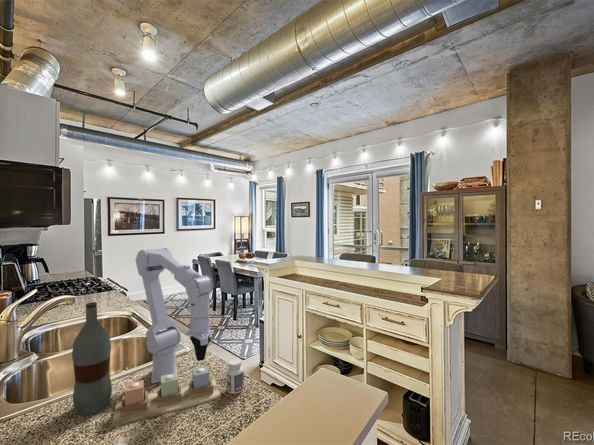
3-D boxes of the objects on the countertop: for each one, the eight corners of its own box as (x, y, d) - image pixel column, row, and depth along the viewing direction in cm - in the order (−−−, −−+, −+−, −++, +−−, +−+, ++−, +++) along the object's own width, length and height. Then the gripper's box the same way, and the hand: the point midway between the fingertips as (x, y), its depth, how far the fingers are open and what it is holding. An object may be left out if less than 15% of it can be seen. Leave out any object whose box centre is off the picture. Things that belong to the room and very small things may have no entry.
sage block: (161, 390, 88) (160, 375, 88) (176, 387, 89) (176, 371, 89) (161, 398, 84) (161, 382, 84) (177, 394, 86) (177, 378, 85)
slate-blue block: (192, 383, 91) (192, 368, 91) (207, 379, 93) (207, 365, 93) (194, 390, 88) (194, 375, 87) (209, 386, 89) (209, 371, 89)
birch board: (116, 403, 85) (116, 393, 85) (214, 380, 98) (214, 371, 98) (111, 427, 76) (111, 416, 76) (220, 398, 88) (220, 388, 88)
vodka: (117, 395, 89) (116, 298, 89) (102, 415, 80) (101, 307, 80) (84, 398, 88) (82, 299, 88) (65, 419, 79) (63, 309, 79)
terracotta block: (126, 399, 84) (126, 382, 84) (143, 395, 86) (143, 379, 86) (125, 408, 80) (124, 391, 80) (143, 403, 82) (142, 386, 82)
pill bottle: (245, 385, 94) (245, 358, 94) (241, 394, 89) (240, 366, 89) (229, 384, 95) (229, 357, 95) (224, 394, 90) (224, 365, 90)
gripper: (183, 311, 95) (184, 352, 95) (189, 325, 82) (190, 373, 82) (205, 308, 98) (206, 348, 98) (215, 321, 85) (215, 367, 85)
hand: (200, 359), depth 90 cm, fingers closed
